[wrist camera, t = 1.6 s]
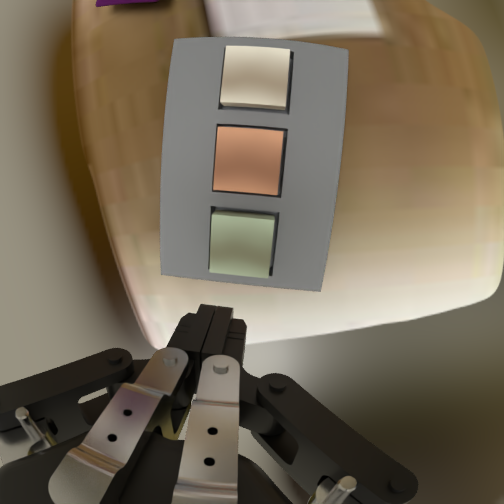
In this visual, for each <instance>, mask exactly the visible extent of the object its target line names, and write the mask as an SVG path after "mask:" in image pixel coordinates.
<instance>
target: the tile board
mask: <svg viewBox="0 0 504 504" xmlns="http://www.w3.org/2000/svg"><path fill="white" fill-rule="evenodd" d="M226 46H256V47H271V48H282V49H290V58H289V71H288V84H287V96H286V107H285V110H276V109H264V108H251V107H234V106H223V105H222V104H221V103H220V97H221V87H222V78H223V69H224V60H225V51H226ZM348 53H349V50H347V49H343V48H337V47H332V46H326V45H320V44H314V43H307V42H300V41H291V40H281V39H269V38H253V37H198V38H182V39H174V44H173V50H172V57H171V64H170V72H169V80H168V88H167V97H166V107H165V118H164V130H163V145H162V163H161V189H160V260H161V275H167V276H175V277H183V278H192V279H200V280H208V281H217V282H226V283H235V284H244V285H254V286H264V287H274V288H284V289H295V290H306V291H318V292H321V287H322V282H323V277H324V271H325V266H326V260H327V255H328V249H329V243H330V237H331V231H332V224H333V218H334V211H335V204H336V196H337V189H338V181H339V173H340V164H341V155H342V145H343V135H344V124H345V111H346V97H347V79H348ZM218 127H235V128H251V129H263V130H274V131H283V141H282V152H281V163H280V173H279V183H278V193H277V195H270V194H259V193H248V192H237V191H224V190H213V185H214V170H215V156H216V143H217V131H218ZM216 210H225V211H236V212H247V213H258V214H268V215H274V217H275V222H274V231H273V240H272V249H271V258H270V267H269V276H268V278H258V277H249V276H239V275H230V274H220V273H211V272H209V269H210V243H211V221H212V214H213V213H214V212H215V211H216Z"/></svg>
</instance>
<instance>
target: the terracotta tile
mask: <svg viewBox="0 0 504 504" xmlns="http://www.w3.org/2000/svg"><path fill="white" fill-rule="evenodd" d="M282 141H283V131H274V130H263V129H251V128H235V127H218V131H217V143H216V156H215V170H214V185H213V190H224V191H237V192H248V193H259V194H270V195H277V193H278V183H279V173H280V163H281V152H282Z"/></svg>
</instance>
